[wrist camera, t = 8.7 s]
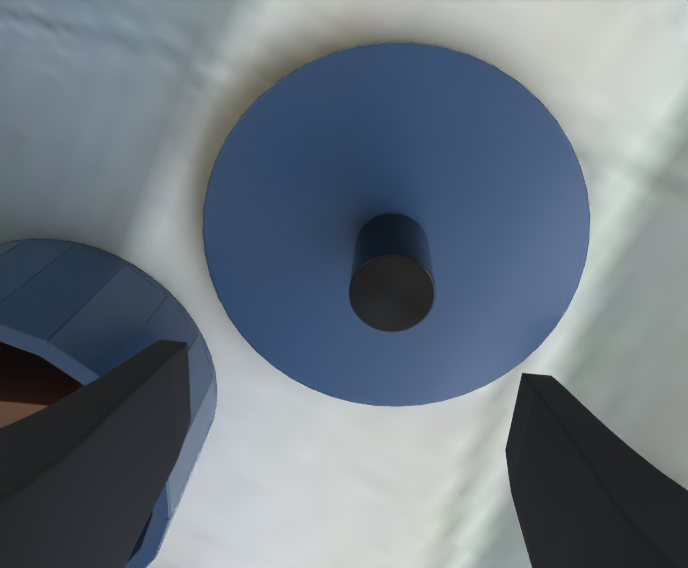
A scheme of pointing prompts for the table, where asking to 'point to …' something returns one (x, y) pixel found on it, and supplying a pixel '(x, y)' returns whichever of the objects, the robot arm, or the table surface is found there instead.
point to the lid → (396, 224)
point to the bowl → (104, 339)
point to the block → (29, 384)
